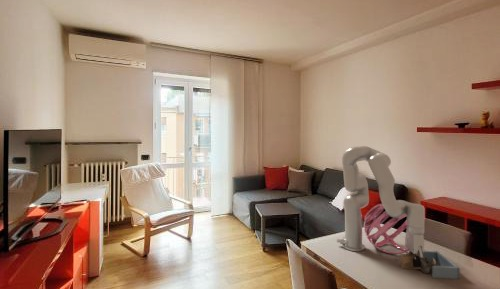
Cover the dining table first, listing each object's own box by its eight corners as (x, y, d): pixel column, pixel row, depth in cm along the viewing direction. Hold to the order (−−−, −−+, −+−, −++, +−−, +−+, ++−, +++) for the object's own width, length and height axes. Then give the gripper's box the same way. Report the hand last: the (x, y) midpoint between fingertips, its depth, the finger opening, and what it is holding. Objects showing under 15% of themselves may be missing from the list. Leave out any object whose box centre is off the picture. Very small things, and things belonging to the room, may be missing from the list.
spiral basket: (439, 223, 139) (397, 187, 157) (402, 245, 129) (361, 204, 148) (416, 250, 157) (381, 215, 176) (382, 271, 147) (348, 231, 166)
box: (433, 277, 123) (433, 267, 123) (414, 259, 141) (414, 250, 140) (459, 278, 122) (459, 268, 122) (437, 260, 139) (437, 251, 139)
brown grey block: (407, 272, 128) (406, 260, 128) (397, 261, 139) (396, 250, 138) (429, 273, 127) (429, 260, 126) (417, 261, 138) (417, 250, 137)
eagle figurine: (416, 262, 134) (426, 267, 125) (424, 251, 134) (435, 255, 126) (428, 273, 132) (440, 278, 124) (437, 261, 133) (449, 266, 124)
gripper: (400, 222, 140) (399, 256, 141) (415, 235, 124) (414, 273, 125) (415, 223, 139) (414, 257, 140) (432, 235, 123) (431, 273, 124)
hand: (414, 264), depth 132 cm, fingers closed on brown grey block, 3 cm apart
